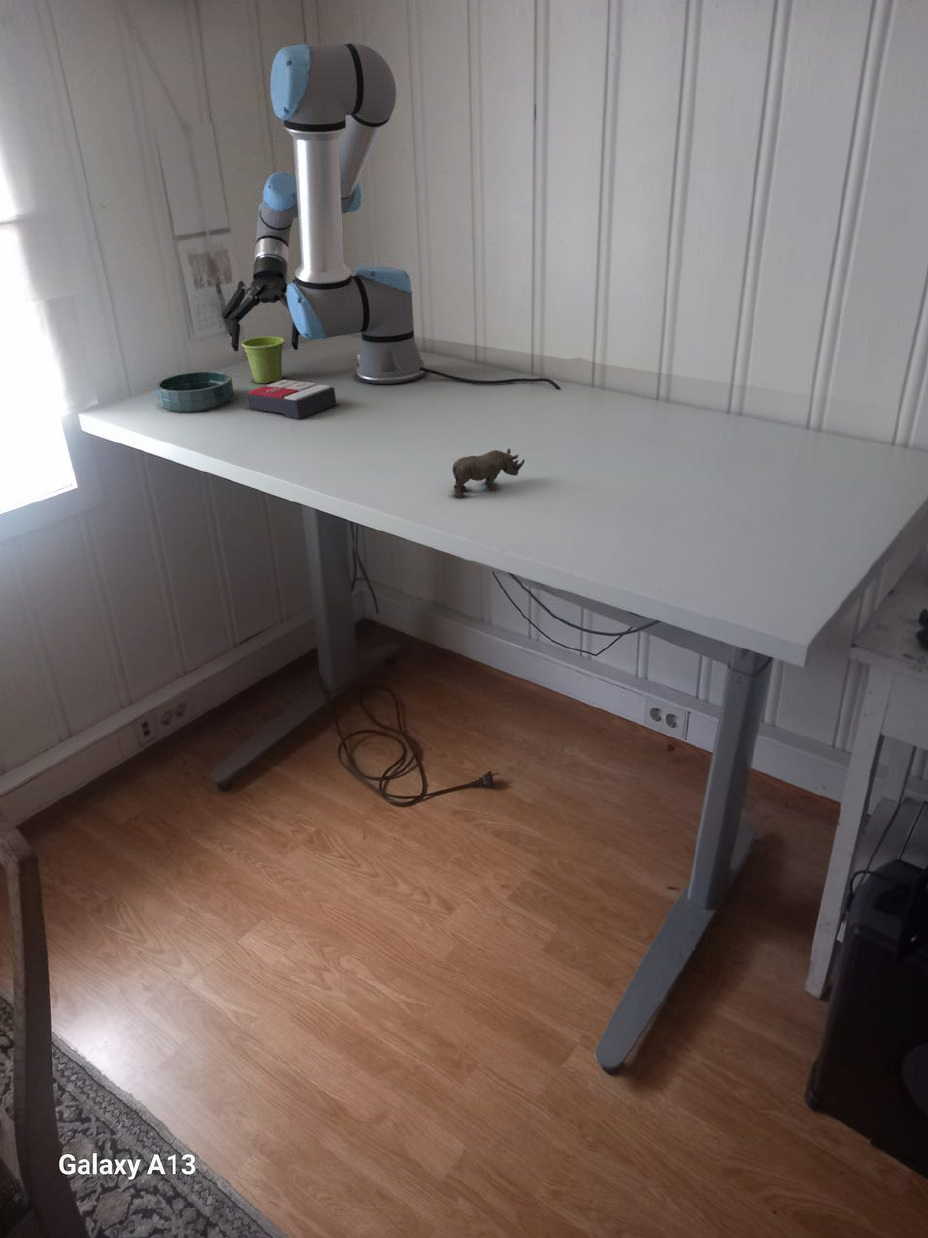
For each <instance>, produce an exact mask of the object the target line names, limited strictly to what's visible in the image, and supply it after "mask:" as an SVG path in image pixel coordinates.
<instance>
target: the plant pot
mask: <svg viewBox="0 0 928 1238" xmlns="http://www.w3.org/2000/svg"><path fill="white" fill-rule="evenodd" d="M284 343H285V339H284V338H283V337H279V336H267V335H266V336H257V337H251V338H248V339H245V340H243V341H241V346H242V347H243V348H244V352H245V353H246V357H247V359H248V363H249V367H250V370H251V373H252V377H253V380H254V382H255V383H257V384H268V383H271V382H272V383H275V382H278V381H281V380H282V377H283V376H282V374H283V373H282V369H283V368H282V357H283V355H282V354H283V352H282V351H283V348H284Z"/></svg>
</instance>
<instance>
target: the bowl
mask: <svg viewBox="0 0 928 1238" xmlns="http://www.w3.org/2000/svg"><path fill="white" fill-rule="evenodd" d="M155 387H156V392H157V397H158V403H159V406H160V407H162V408H163V409H166V410H167V411H170V412H177V413H196V412H197V413H198V412H203V411H210V410H213V409H218V408H220V407H223V406H225V405H227V404H229V403H230V402H231V401H232V400H233V399H234V397H235V391H234V384H233V379H232V375H230V373H226V372H221V371H214V370H212V371H211V370H204V371H191V372H184V373H179V374H174V375H170V376H167V377H165V378H163V379H160V380H159V381H158V382H157V383H156V386H155Z"/></svg>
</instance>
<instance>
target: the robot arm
mask: <svg viewBox="0 0 928 1238" xmlns="http://www.w3.org/2000/svg"><path fill="white" fill-rule="evenodd" d="M269 85H270V86H269V87H270V100H271V101H272V109H273V112H274V114H275V116H276V117H277V118H278V119H280V120H283V128H284V129H285V130H286V131H287V132H288V133H289V134H290V135H291V137H292V139H293V140H292V141H293V144H292V145H293V157H294V158H293V159H294V171H295V176H294V175H293V174H292V173H287V172H285V171H275V172H273V173H272V174H270V175H269V176H268V178H267V179H266V182H265V185H264V188H263V191H262V198H261V202H260V204H259V207H258V211H257V216H256V221H257V224H256V238H255V239H256V241H255V248H254V259H253V260H254V263H253V272H252V281H251V283H244V281H243V280H239V281H238V283H237V288H236V290H235V292H234V293H233V295H232V296H231V298H230V300H229V301H228V303H227V305H226V306H225V308H224V309H223V311H222V312H221V315H220V316H221V318H222V319H223V321H224V323H226V324H228V334H229V336H230V337H231V345H230V346H231V348H232V349H233V351H234V352H239V346H240V335H241V325H240V322H241V321H242V320H243V319H244V318H245V316H247V315H248V314H249V312H251V311H252V310H253V309H254V307H256V306H259V305H260V304H261V303H262V304H268V303H271V304H276V303H277V302H280V304H281V305H283V306H284V307H285V308H286V309H287V311H289V313H290V316H291V318H292V329H291V330H292V331H291V346H292V348H293V350H294V351H298V350H299V337H300V336H302V338H305V339H306V340H319V339H322V340H326V339H327V338H333V337H339V336H340V337H341V336H348V335H353V334H359V333H361V334H360V335H361V345H360V350H359V354H358V353H357V360H358V363H357V365H356V378H357V380H358V381H361V382H363V383H366V384H371V385H372V384H374V385H394V384H397V385H398V384H404V383H409V382H413V381H415V380H418V379H420V378H422V377H424V375H425V373H428V374H433V375H437V376H439V377H440V376H441V377H444V378H446V379H450V380H454V381H459V382H464V383H470V384H481V385H495V384H496V385H499V384H508V383H517V382H518V383H519V382H520V383H522V382H523V383H525V382H526V383H538V382H540V383H541V382H546V383H549V384H550V385H552V387H554V388H555V389H556V390H558V391H559V390H561V387H560V386H559V385H558V383H556V382H555V381H554V380H552V379H550V378H545V377H539V378H538V377H536V378H522V377H521V378H520V377H519V378H508V379H499V380H497V379H496V380H482V379H471V378H465V377H460V376H455V375H450V374H448V373H444V372H440V371H437V370H433V369H430V368H426V367H425V364H424V361H423V359H422V358H421V355H420V352H419V349H418V346H417V343H416V339H415V328H414V327H415V325H414V308H413V290H412V285H411V276H410V274H409V273H408V272H407V271H406V270H404V269H401V268H396V267H390V266H379V265H362V266H357V267H356V268H355V270H354V275H352V271H351V269H350V268H349V267H348V266H347V265H346V264H345V263H344V243H343V242H344V241H343V239H344V238H343V219H342V218H343V217H342V215H344V214H347V213H352V212H356V211H358V210H359V209H360V208H361V203H362V202H361V200H362V189H361V186H360V182H359V181H360V177H361V175H362V172H363V170H364V168H365V165H366V163H367V161H368V158H369V156H370V153H371V151H372V149H373V146H374V144H375V142H376V139H377V136H378V134H379V132H380V129H381V128H382V127H384V126H385V125H387V124H388V122H389V121H390V119H391V117H392V114H393V112H394V110H395V106H396V101H397V86H396V85H397V84H396V81H395V77H394V74H393V72H392V70H391V68H390V66H389V64H388V63H387V61H386V60H385V59H384V58H383V56H381V54H380V53H379V52H377V51H376V50H374V49H373V48H372V47H369V46H368V45H365V44H361V43H356V42H354V43H350V42H349V43H328V44H327V43H325V44H324V43H323V44H321V43H320V44H319V43H318V44H314V43H313V44H303V43H301V44H298V45H297V44H295V45H289V46H284V47H282V48H280V49H279V51H278V52H277V53H276V54H275V56H274V59H273V62H272V66H271V71H270V84H269ZM297 218H298V231H299V244H300V245H299V246H300V259H301V260H300V261H301V263H300V265H299V266H298V267H297V268H296V269H295V270H294V279H293V280H292V282H287V280H288V279H287V278H288V263H289V253H290V252H289V246H290V238H291V237H290V236H291V230H292V227H293V222H294V220H295V219H297ZM249 291H250V292H249ZM246 295H248V297H247V298H246V299H245V297H246ZM244 299H245V300H244Z"/></svg>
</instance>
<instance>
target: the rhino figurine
mask: <svg viewBox="0 0 928 1238" xmlns="http://www.w3.org/2000/svg"><path fill="white" fill-rule="evenodd" d="M511 452H512V451H511V449H510V448H508V449H507V450H506V452H503V451H501V450H498V449H495V450H494V449H493V450H490V451H488V452H485V453H484V454H481V455H468V456H463V457H460V458H458V459H457V460H455V461H454V462H453V463H452V467H451V468H452V474H453V476H454V479H455V484H453V490H454V493H453V497H455V498H462V497H465V493H464V491H467V487H466V486H465V484H466V483H469V481H470V480H472V481H477V482H480V481H483V480H485V481H484V485H485V486H486V489H488V490H490V491H494V490H496V489H497V486H496V485H495V484H494V482H495V480H496V479H497V477H498V475H500V473H501V471H503V473H505V474H507V475H510V476H517V475H519V470H520V469H521V468H522V467H523V465H524V464H525V460H526V459H522V460H521V462H519V459H518V458H519V456H520V455H519V454H515V455H512V454H511ZM514 460H515V461H514Z"/></svg>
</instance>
